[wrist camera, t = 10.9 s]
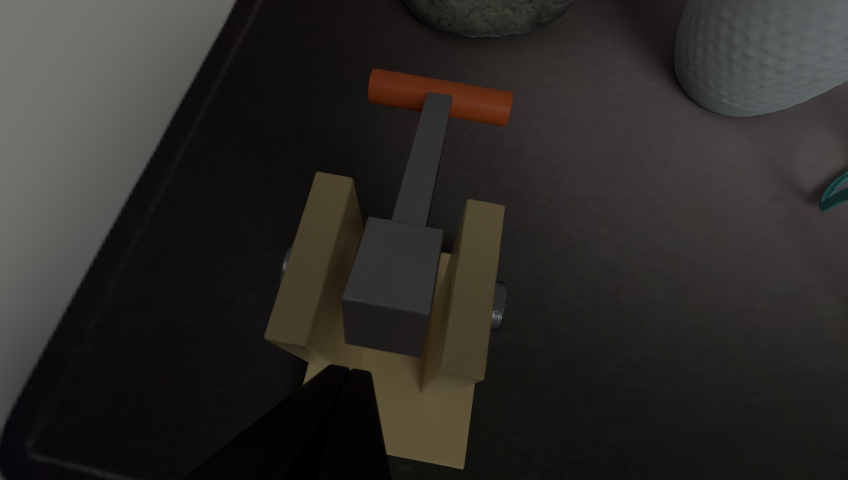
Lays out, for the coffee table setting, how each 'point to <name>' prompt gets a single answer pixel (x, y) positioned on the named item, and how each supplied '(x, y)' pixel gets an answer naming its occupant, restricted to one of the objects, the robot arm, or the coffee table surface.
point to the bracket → (392, 373)
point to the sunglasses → (832, 200)
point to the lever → (409, 217)
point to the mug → (760, 53)
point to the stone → (488, 15)
